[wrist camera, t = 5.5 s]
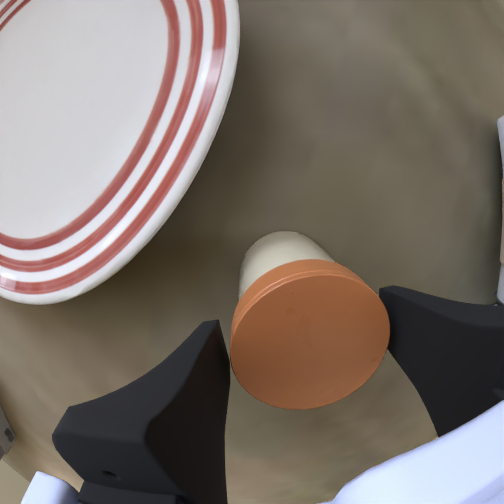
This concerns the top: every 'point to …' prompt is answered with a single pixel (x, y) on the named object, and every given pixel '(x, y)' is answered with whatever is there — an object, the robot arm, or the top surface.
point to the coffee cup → (503, 292)
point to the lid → (307, 335)
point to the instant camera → (5, 435)
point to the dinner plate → (102, 130)
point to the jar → (276, 255)
